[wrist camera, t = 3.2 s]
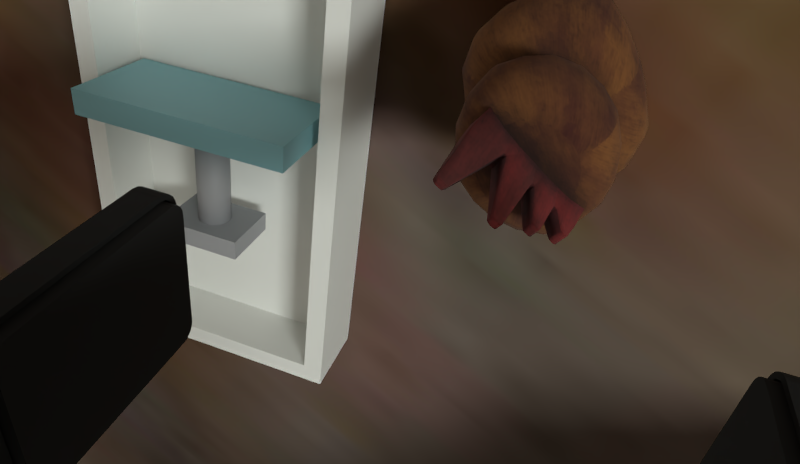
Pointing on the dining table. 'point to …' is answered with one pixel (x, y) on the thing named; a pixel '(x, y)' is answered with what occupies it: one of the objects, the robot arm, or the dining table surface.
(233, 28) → the lane
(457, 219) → the dining table surface
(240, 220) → the pusher paddle
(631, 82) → the wooden figurine
